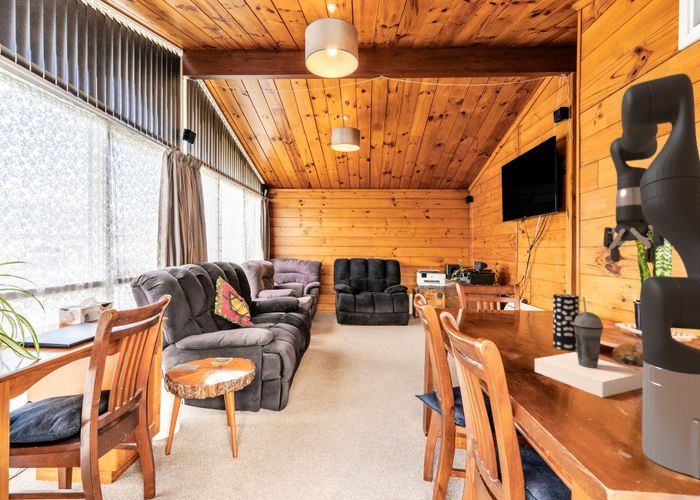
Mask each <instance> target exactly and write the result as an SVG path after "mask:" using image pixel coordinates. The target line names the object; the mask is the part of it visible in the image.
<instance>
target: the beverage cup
mask: <svg viewBox="0 0 700 500" xmlns="http://www.w3.org/2000/svg"><path fill="white" fill-rule="evenodd" d="M585 298H586V297H584V296H582V302H583V310H584V312H579V315H578V316H577V317H576V318H575V320H574V324H573V325H574V330H575V334H576V345H577V351H576V353H577V355H578V362H579V365H580V366H583V367H586V368H597V365H598V359H600V358H599V355H600V348H601V340H602V339H601V338H602V334H603V329H604V326H603V321H602V319H601V318H600V317H599V316H598V315H597V314H595V313H593V312H589V311H587V306H586V299H585Z"/></svg>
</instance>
